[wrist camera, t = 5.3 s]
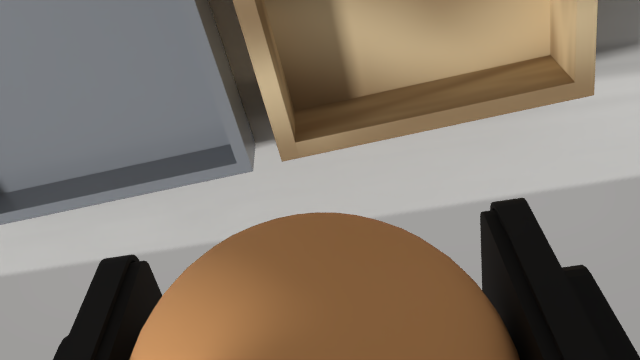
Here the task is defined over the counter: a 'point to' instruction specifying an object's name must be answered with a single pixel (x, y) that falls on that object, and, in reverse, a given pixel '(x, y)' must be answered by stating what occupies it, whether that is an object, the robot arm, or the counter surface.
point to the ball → (324, 299)
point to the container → (113, 103)
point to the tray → (410, 64)
